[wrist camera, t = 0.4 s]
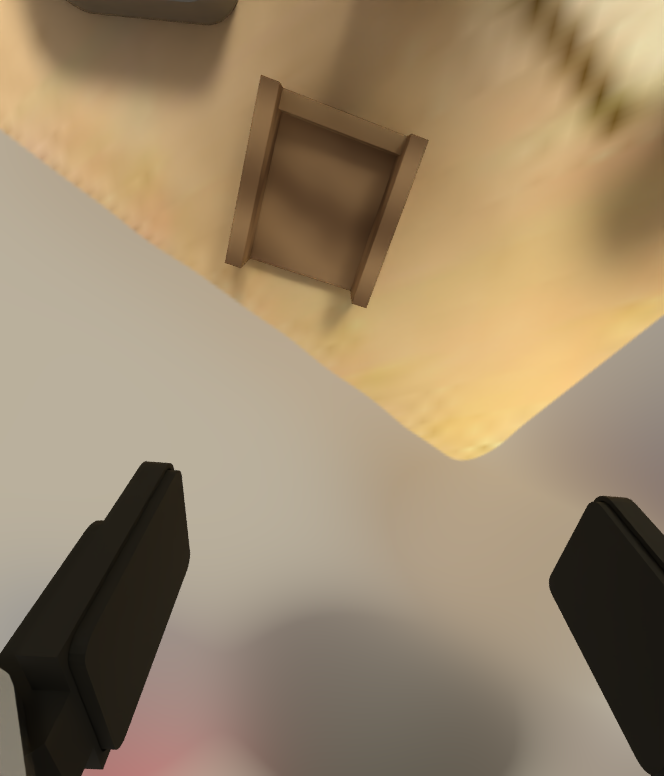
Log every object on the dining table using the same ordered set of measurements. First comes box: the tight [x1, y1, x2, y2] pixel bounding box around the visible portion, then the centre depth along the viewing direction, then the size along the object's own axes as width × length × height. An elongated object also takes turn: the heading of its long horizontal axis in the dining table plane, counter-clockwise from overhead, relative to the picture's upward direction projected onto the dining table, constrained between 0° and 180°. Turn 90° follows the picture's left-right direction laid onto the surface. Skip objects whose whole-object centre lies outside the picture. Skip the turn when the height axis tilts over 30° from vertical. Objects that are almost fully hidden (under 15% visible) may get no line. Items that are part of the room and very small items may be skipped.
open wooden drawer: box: [225, 75, 429, 308], centre depth 31 cm, size 12×11×5 cm
